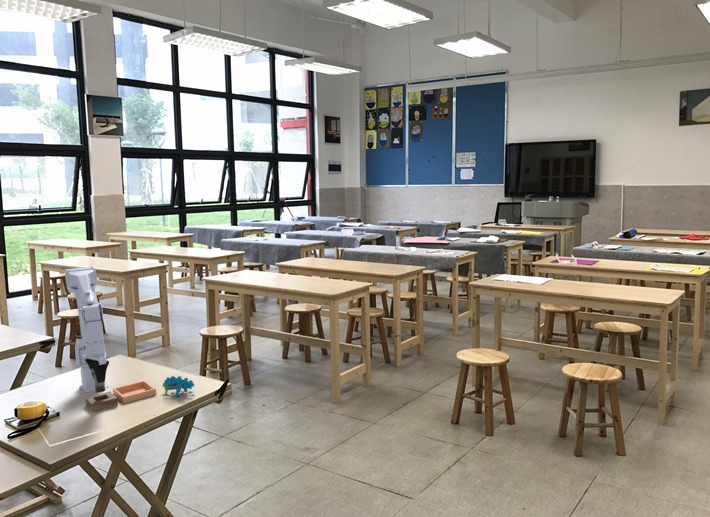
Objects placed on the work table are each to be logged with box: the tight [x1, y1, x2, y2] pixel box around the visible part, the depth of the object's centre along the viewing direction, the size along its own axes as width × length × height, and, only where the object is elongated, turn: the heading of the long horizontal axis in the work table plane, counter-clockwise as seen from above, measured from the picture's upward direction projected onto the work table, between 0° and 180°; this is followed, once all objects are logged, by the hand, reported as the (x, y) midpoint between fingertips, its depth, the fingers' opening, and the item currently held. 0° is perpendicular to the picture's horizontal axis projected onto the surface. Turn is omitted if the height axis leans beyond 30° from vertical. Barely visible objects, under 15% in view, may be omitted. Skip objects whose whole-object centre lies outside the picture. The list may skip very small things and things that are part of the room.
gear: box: [162, 375, 195, 398], centre depth 209 cm, size 11×6×10 cm
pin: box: [91, 368, 106, 394], centre depth 200 cm, size 4×4×8 cm
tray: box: [112, 380, 157, 404], centre depth 210 cm, size 11×11×2 cm
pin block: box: [84, 391, 119, 413], centre depth 202 cm, size 8×8×3 cm
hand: (99, 380), depth 200 cm, fingers closed on pin, 4 cm apart
